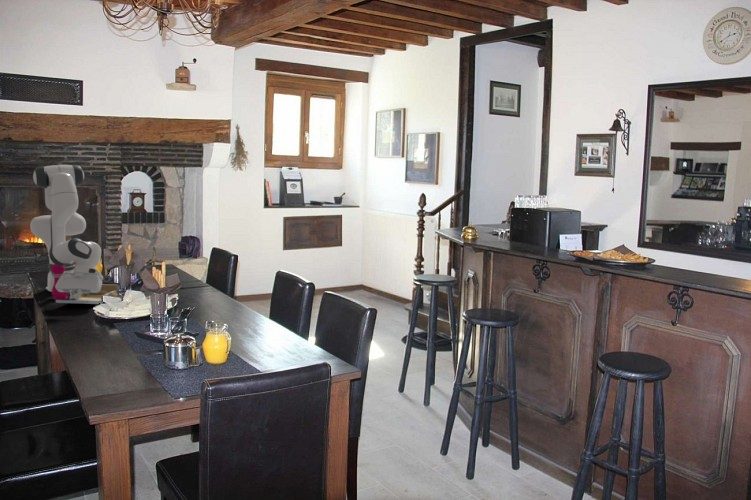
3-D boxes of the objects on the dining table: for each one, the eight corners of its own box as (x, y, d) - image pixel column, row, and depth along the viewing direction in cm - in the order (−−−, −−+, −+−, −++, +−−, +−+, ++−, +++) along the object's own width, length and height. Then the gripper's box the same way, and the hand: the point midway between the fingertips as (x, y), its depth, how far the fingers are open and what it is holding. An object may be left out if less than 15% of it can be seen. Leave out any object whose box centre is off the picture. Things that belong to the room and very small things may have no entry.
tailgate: (72, 300, 309) (55, 299, 295) (104, 301, 307) (88, 300, 294) (71, 303, 309) (55, 302, 295) (103, 304, 307) (88, 303, 294)
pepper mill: (72, 299, 319) (69, 259, 316) (63, 303, 312) (60, 261, 309) (57, 299, 320) (54, 258, 317) (49, 302, 313) (45, 261, 310)
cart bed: (88, 297, 323) (87, 283, 322) (118, 298, 322) (117, 284, 320) (73, 304, 309) (72, 290, 308) (104, 305, 308) (103, 290, 307)
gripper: (58, 269, 302) (48, 295, 294) (101, 270, 300) (91, 296, 292) (65, 277, 307) (54, 302, 299) (106, 277, 305) (97, 303, 297)
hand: (73, 299), depth 295 cm, fingers closed
